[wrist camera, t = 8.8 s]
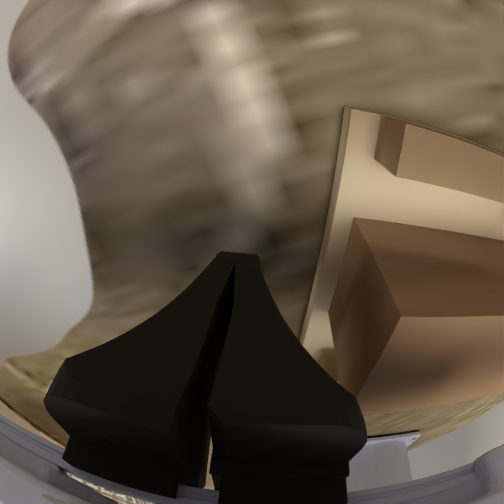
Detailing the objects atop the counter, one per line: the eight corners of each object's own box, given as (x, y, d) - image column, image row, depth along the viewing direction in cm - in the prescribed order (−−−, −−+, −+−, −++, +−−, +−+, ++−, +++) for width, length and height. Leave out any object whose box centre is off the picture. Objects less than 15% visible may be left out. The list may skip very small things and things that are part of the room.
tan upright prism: (467, 315, 12) (506, 390, 8) (328, 312, 12) (343, 415, 8) (504, 240, 10) (565, 311, 6) (353, 217, 10) (400, 316, 6)
